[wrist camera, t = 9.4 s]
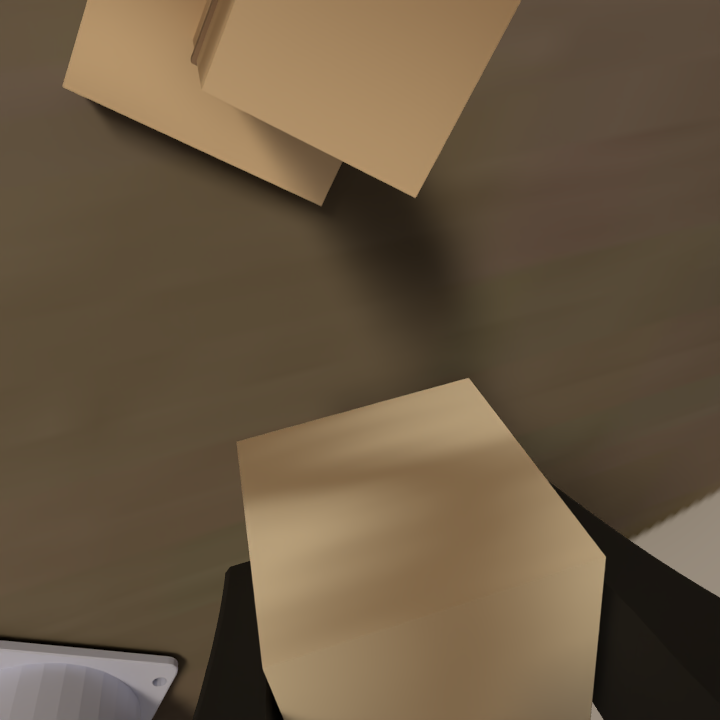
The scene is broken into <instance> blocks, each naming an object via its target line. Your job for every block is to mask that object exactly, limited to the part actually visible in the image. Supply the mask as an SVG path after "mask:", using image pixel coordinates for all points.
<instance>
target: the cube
mask: <svg viewBox="0 0 720 720" xmlns="http://www.w3.org/2000/svg"><path fill="white" fill-rule="evenodd" d="M237 450H238V458H239V467H240V476H241V485H242V493H243V502H244V511H245V519H246V528H247V537H248V546H249V554H250V563H251V572H252V581H253V589H254V598H255V607H256V615H257V624H258V633H259V642H260V650H261V659H262V668H263V671H264V673H265V676H266V678H267V681H268V683H269V685H270V688H271V690H272V693H273V695H274V697H275V700H276V702H277V704H278V707H279V709H280V712H281V714H282V716H283V719H284V720H590V718H591V708H592V697H593V687H594V676H595V666H596V656H597V645H598V635H599V624H600V614H601V603H602V593H603V582H604V572H605V561H606V556H605V555H604V554H603V552H602V551H601V550H600V549H599V547H598V546H597V545H596V543H595V542H594V541H593V539H592V538H591V537H590V536H589V534H588V533H587V532H586V530H585V529H584V528H583V526H582V525H581V524H580V522H579V521H578V520H577V519H576V517H575V516H574V515H573V513H572V512H571V511H570V509H569V508H568V507H567V506H566V504H565V503H564V502H563V500H562V499H561V498H560V496H559V495H558V494H557V492H556V491H555V490H554V489H553V487H552V486H551V485H550V483H549V482H548V481H547V479H546V478H545V477H544V476H543V474H542V473H541V472H540V470H539V469H538V468H537V466H536V465H535V464H534V462H533V461H532V460H531V459H530V457H529V456H528V455H527V453H526V452H525V451H524V449H523V448H522V447H521V446H520V444H519V443H518V442H517V440H516V439H515V438H514V436H513V435H512V434H511V432H510V431H509V430H508V429H507V427H506V426H505V425H504V423H503V422H502V421H501V419H500V418H499V417H498V416H497V414H496V413H495V412H494V410H493V409H492V408H491V406H490V405H489V404H488V402H487V401H486V400H485V399H484V397H483V396H482V395H481V393H480V392H479V391H478V389H477V388H476V387H475V386H474V384H473V383H472V382H471V380H470V379H469V378H466V379H463V380H459V381H455V382H452V383H448V384H445V385H441V386H437V387H434V388H430V389H426V390H423V391H419V392H415V393H412V394H408V395H405V396H401V397H397V398H394V399H390V400H386V401H383V402H379V403H375V404H372V405H368V406H365V407H361V408H357V409H354V410H350V411H346V412H343V413H339V414H336V415H332V416H328V417H325V418H321V419H317V420H314V421H310V422H306V423H303V424H299V425H296V426H292V427H288V428H285V429H281V430H277V431H274V432H270V433H266V434H263V435H259V436H256V437H252V438H248V439H245V440H241V441H237Z"/></svg>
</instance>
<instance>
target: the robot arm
mask: <svg viewBox="0 0 720 720" xmlns="http://www.w3.org/2000/svg"><path fill="white" fill-rule="evenodd" d="M548 482H549V481H548ZM549 483H550V482H549ZM550 485H551V486H552V487H553V489H554V490H555V491H556V492H557V494H558V495H559V496H560V498H561V499H562V500H563V502H564V503H565V504H566V506H567V507H568V508H569V509H570V511H571V512H572V513H573V515H574V516H575V517H576V519H577V520H578V521H579V522H580V524H581V525H582V526H583V528H584V529H585V530H586V532H587V533H588V534H589V536H590V537H591V538H592V539H593V541H594V542H595V543H596V545H597V546H598V547H599V549H600V550H601V551H602V552H603V554H604V555H605V556H606V561H605V572H604V582H603V593H602V603H601V614H600V624H599V635H598V645H597V656H596V666H595V676H594V687H593V697H592V702H593V703H594V705H595V707H596V708H597V710H598V711H599V713H600V714H601V716H602V718H603V719H604V720H720V598H719V597H718V596H716V595H715V594H713V593H711V592H709V591H708V590H706V589H704V588H703V587H701V586H699V585H698V584H696V583H695V582H693V581H691V580H690V579H688V578H687V577H685V576H683V575H682V574H680V573H678V572H677V571H675V570H674V569H672V568H670V567H669V566H667V565H666V564H664V563H662V562H661V561H660V560H658V559H656V558H655V557H653V556H652V555H651V554H649V553H647V552H646V551H645V550H643V549H642V548H640V547H639V546H637V545H636V544H634V543H633V542H631V541H630V540H628V539H627V538H626V537H624V536H623V535H621V534H620V533H618V532H617V531H615V530H614V529H613V528H611V527H610V526H608V525H607V524H605V523H604V522H603V521H601V520H600V519H599V518H597V517H596V516H594V515H593V514H592V513H590V512H589V511H588V510H586V509H585V508H583V507H582V506H581V505H579V504H578V503H577V502H575V501H574V500H573V499H571V498H570V497H569V496H567V495H566V494H565V493H563V492H562V491H561V490H559V489H558V488H557V487H555V486H554V485H553V484H551V483H550ZM177 672H178V662H177V660H176V659H175V658H173V657H169V656H161V655H150V654H140V653H129V652H119V651H108V650H98V649H88V648H77V647H67V646H56V645H46V644H35V643H25V642H15V641H4V640H0V720H152V718H153V717H154V715H155V713H156V711H157V709H158V707H159V706H160V704H161V702H162V700H163V698H164V696H165V695H166V693H167V691H168V689H169V687H170V686H171V684H172V682H173V680H174V678H175V676H176V675H177ZM192 720H284V719H283V716H282V714H281V712H280V709H279V707H278V704H277V702H276V700H275V697H274V695H273V693H272V690H271V688H270V685H269V683H268V681H267V678H266V676H265V673H264V671H263V668H262V659H261V650H260V642H259V633H258V624H257V615H256V607H255V598H254V589H253V581H252V572H251V563H250V561H248V562H245V563H242V564H238V565H235V566H232V567H230V568H229V569H228V571H227V572H226V573H225V582H224V589H223V596H222V602H221V608H220V613H219V618H218V623H217V628H216V632H215V637H214V641H213V646H212V650H211V654H210V658H209V662H208V666H207V669H206V673H205V677H204V681H203V685H202V689H201V693H200V696H199V700H198V703H197V707H196V710H195V713H194V716H193V719H192Z"/></svg>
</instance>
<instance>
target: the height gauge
mask: <svg viewBox="0 0 720 720" xmlns="http://www.w3.org/2000/svg"><path fill="white" fill-rule="evenodd" d="M520 2H521V0H88V1H87V5H86V8H85V11H84V15H83V18H82V22H81V25H80V28H79V32H78V35H77V39H76V42H75V45H74V49H73V52H72V56H71V59H70V62H69V66H68V69H67V73H66V76H65V80H64V83H63V86H62V87H64V88H66V89H68V90H70V91H73V92H75V93H77V94H79V95H81V96H83V97H86V98H88V99H90V100H92V101H94V102H96V103H99V104H101V105H103V106H105V107H107V108H109V109H112V110H114V111H116V112H118V113H120V114H122V115H125V116H127V117H129V118H131V119H133V120H135V121H138V122H140V123H142V124H144V125H146V126H149V127H151V128H153V129H155V130H157V131H159V132H162V133H164V134H166V135H168V136H170V137H172V138H175V139H177V140H179V141H181V142H183V143H185V144H188V145H190V146H192V147H194V148H196V149H198V150H201V151H203V152H205V153H207V154H209V155H211V156H214V157H216V158H218V159H220V160H222V161H224V162H227V163H229V164H231V165H233V166H235V167H237V168H240V169H242V170H244V171H246V172H248V173H250V174H253V175H255V176H257V177H259V178H261V179H263V180H266V181H268V182H270V183H272V184H274V185H276V186H279V187H281V188H283V189H285V190H287V191H290V192H292V193H294V194H296V195H298V196H300V197H303V198H305V199H307V200H309V201H311V202H313V203H316V204H318V205H320V206H321V205H322V203H323V201H324V199H325V197H326V195H327V193H328V191H329V189H330V187H331V185H332V182H333V180H334V178H335V176H336V174H337V172H338V170H339V168H340V166H341V164H342V162H345V163H347V164H349V165H351V166H353V167H355V168H357V169H359V170H361V171H363V172H365V173H367V174H369V175H371V176H373V177H375V178H377V179H379V180H381V181H383V182H385V183H387V184H389V185H391V186H393V187H395V188H397V189H399V190H401V191H402V192H404V193H406V194H408V195H410V196H412V197H414V198H416V196H417V194H418V192H419V191H420V189H421V187H422V185H423V183H424V181H425V179H426V178H427V176H428V174H429V172H430V170H431V168H432V166H433V164H434V163H435V161H436V159H437V157H438V155H439V153H440V151H441V149H442V148H443V146H444V144H445V142H446V140H447V138H448V136H449V134H450V133H451V131H452V129H453V127H454V125H455V123H456V121H457V120H458V118H459V116H460V114H461V112H462V110H463V108H464V106H465V105H466V103H467V101H468V99H469V97H470V95H471V93H472V91H473V90H474V88H475V86H476V84H477V82H478V80H479V78H480V77H481V75H482V73H483V71H484V69H485V67H486V65H487V63H488V62H489V60H490V58H491V56H492V54H493V52H494V50H495V48H496V47H497V45H498V43H499V41H500V39H501V37H502V35H503V33H504V32H505V30H506V28H507V26H508V24H509V22H510V20H511V19H512V17H513V15H514V13H515V11H516V9H517V7H518V5H519V4H520Z"/></svg>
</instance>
